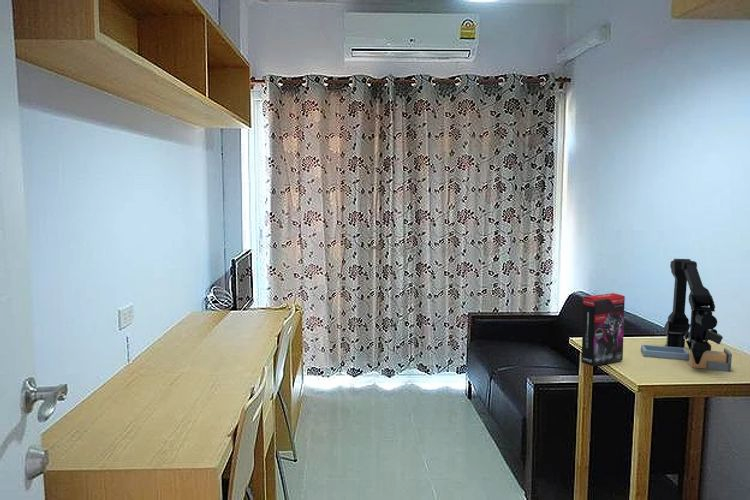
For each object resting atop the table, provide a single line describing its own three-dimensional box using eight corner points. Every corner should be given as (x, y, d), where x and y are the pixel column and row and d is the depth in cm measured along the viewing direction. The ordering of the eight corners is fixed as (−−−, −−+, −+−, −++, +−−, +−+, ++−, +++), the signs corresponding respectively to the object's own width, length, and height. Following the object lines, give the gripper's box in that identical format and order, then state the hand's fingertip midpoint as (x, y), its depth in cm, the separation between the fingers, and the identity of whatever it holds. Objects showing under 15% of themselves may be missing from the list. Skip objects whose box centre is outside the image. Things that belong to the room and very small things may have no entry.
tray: (643, 356, 252) (644, 350, 251) (640, 350, 261) (641, 344, 261) (689, 360, 247) (689, 354, 246) (684, 353, 256) (684, 348, 256)
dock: (707, 369, 235) (708, 352, 234) (702, 363, 243) (704, 346, 242) (730, 371, 233) (731, 353, 232) (725, 365, 240) (726, 348, 239)
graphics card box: (592, 367, 237) (596, 299, 233) (579, 362, 243) (582, 295, 239) (623, 361, 244) (626, 295, 241) (609, 357, 251) (612, 292, 247)
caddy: (691, 367, 238) (692, 352, 237) (688, 363, 243) (689, 348, 242) (725, 370, 234) (726, 355, 234) (722, 366, 239) (723, 351, 238)
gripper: (727, 330, 227) (724, 371, 228) (715, 319, 244) (713, 357, 246) (694, 328, 230) (692, 368, 232) (685, 317, 248) (682, 354, 249)
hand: (695, 361), depth 240 cm, fingers closed on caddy, 5 cm apart
